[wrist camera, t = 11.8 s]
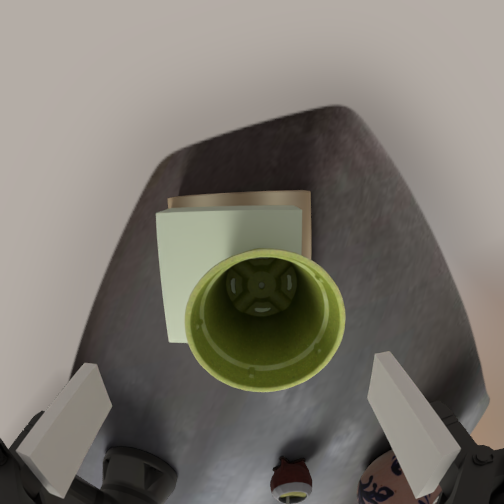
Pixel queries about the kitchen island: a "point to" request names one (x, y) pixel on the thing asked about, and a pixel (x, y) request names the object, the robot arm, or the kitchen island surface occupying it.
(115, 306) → the kitchen island surface
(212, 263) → the upper block
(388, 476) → the ceramic pitcher
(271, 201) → the lower block
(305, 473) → the mate gourd
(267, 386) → the plant pot
